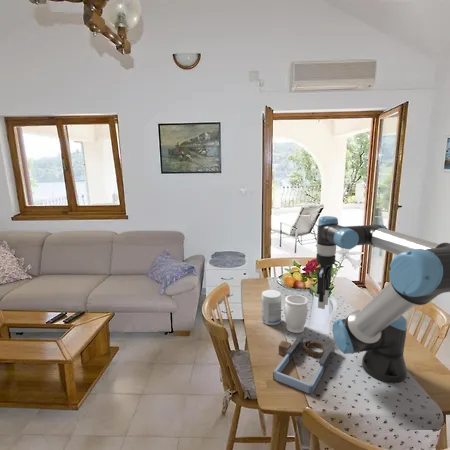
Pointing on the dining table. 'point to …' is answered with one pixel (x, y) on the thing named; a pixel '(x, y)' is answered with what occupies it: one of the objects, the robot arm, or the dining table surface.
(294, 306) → the jar
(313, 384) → the tray
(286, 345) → the brown wooden cube
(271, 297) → the supplement tub
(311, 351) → the bracelet
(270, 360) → the dining table surface
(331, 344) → the slot rail
